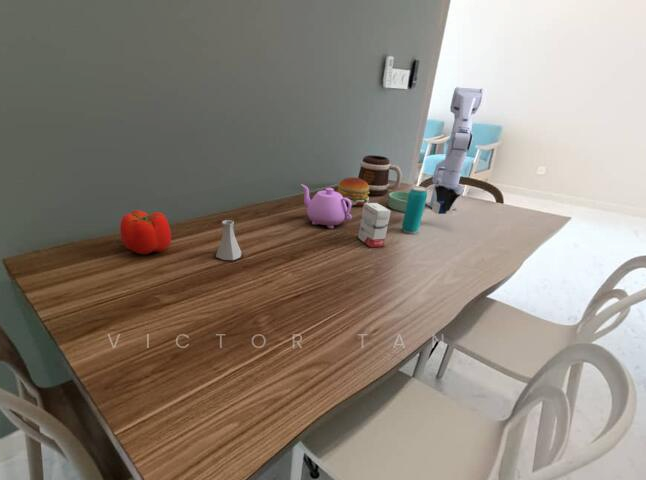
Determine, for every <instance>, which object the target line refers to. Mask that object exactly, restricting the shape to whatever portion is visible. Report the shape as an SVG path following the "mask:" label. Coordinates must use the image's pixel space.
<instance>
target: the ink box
mask: <svg viewBox="0 0 646 480" xmlns="http://www.w3.org/2000/svg"><path fill="white" fill-rule="evenodd" d="M362 206H363V207H362V212H361V218H360V226H359V229H358V239H359V240H360V241H362V242H363V243H364V244H365V245H367V246H368V247H370V248H380V247H381V248H382V247H384V246H385V241H386V236H387V231H388V226H389V222H390V218H391V217H390V216H391V212H392V210H390V209H389V208H387V207H385V206H383V205H381V204H380V203H379V202H367V203H364V204H363V205H362Z"/></svg>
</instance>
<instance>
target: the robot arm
mask: <svg viewBox="0 0 646 480" xmlns="http://www.w3.org/2000/svg"><path fill="white" fill-rule="evenodd" d="M483 98H484V89H483V88H472V87H459V86H456V87H455V88H454V89H453V94H452V98H451V103H450V112H451V113H452V114H453V115H454V116H453V118H454V121H453V123H452V124H453V125H452V129H451V133H450V135H449V136H450V137H449V140H448V145H447V149H446V153H445V157H444V159H442V160H440V161H438V162H437V164H435V168H434V172H433V175H432V181H431V182H432V183H433V184H434V186H433V189H432V194H431V198H430V202H425V206H428V207H430V208H433V204H434V201H444V205H443V211H449V210H450V208H451V206H452V204H454V206H453V210H456V203H457V200H458V198H459V197H460V196H461V195H463V194H464V191H465V188H464V187H462V186H461V185H460V184H459V183H460V179H461V176H462V173H463V172H462V171H463V168H464V164H465V161H466V158H467V154H468V153H469V151H470V149H471V147H472V143H473V138H474V136H473V135H474V133H473V123H474V120H473V118H472V117H471V116H472V115H475V114H476V113H477V111H478V109H479V107H481V103H482V101H483Z"/></svg>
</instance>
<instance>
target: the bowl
mask: <svg viewBox="0 0 646 480" xmlns="http://www.w3.org/2000/svg"><path fill="white" fill-rule="evenodd" d="M409 192H410V191H393V192H390V193H389V194H388V197H387V198H388V199H387V206H388V207H389V208H390V209H392V210H394V211H397V212H402V213H405V210H406V206H407V201H408V196H409Z"/></svg>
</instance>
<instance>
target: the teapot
mask: <svg viewBox="0 0 646 480" xmlns="http://www.w3.org/2000/svg"><path fill="white" fill-rule="evenodd" d="M300 186H301V187H302V189H303V192H304V194H303V195H304V198H303V205H304V206H305V208H306V215H307V217H308V219H309V220H310V221H311V224H312V225H322V226H326V227H327V228H328V229H334V228H335V227H334V226H337V225H341V224H342V223H343V222H345V221H351V220H352V218H353V216H352V214H351V213H350V211H351V209H352V207H353V205H352V203H351V201H350V199H348V198H343V197H342V195H341V194H340V193H338V191H335V189H334V188H332V187H325V190H319V191H317V192H316V193H315V195H314V196H313V197H312V199H311V197H310V190H309V188H308V186H307V185H305V184H303V183H301V184H300ZM344 200H345V201H347V202H348V206H347V205H346V203H345V201H344Z"/></svg>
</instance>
